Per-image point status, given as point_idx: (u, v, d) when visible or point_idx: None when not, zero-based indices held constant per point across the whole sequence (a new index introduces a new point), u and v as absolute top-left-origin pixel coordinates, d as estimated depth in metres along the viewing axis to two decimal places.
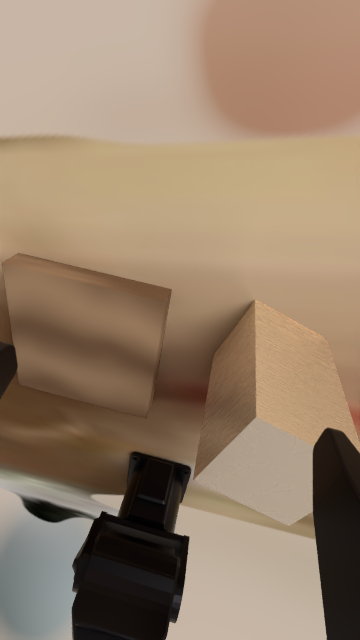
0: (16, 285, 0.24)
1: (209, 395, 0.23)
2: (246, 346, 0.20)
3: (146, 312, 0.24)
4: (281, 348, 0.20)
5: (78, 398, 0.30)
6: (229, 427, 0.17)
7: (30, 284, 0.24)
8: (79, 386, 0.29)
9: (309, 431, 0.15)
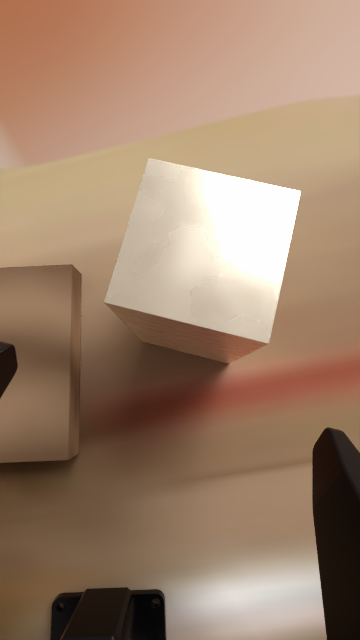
0: None
1: None
2: None
3: (52, 283, 0.22)
4: None
5: None
6: None
7: None
8: None
9: None
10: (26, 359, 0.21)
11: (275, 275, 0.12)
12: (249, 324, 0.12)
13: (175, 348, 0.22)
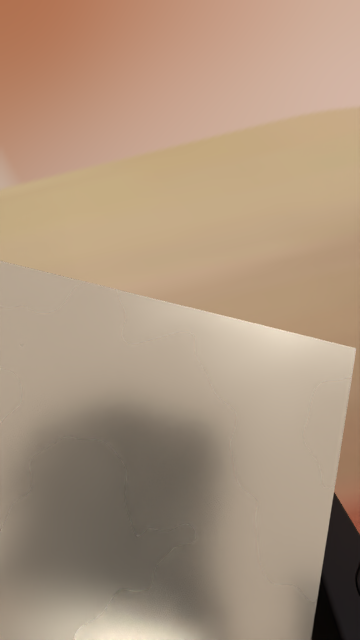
0: None
1: None
2: None
3: None
4: None
5: None
6: None
7: None
8: None
9: None
10: None
11: (297, 588, 0.05)
12: None
13: None
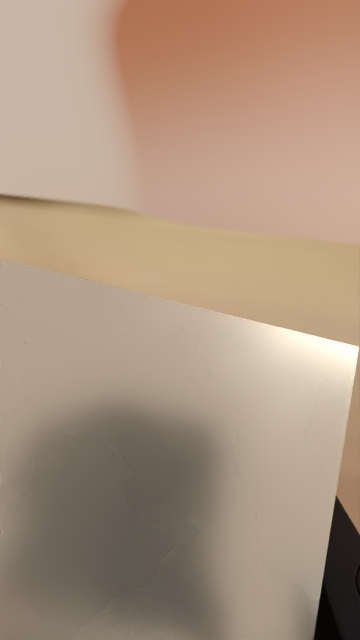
0: None
1: None
2: None
3: None
4: None
5: None
6: None
7: None
8: None
9: None
10: None
11: (300, 587, 0.05)
12: None
13: None
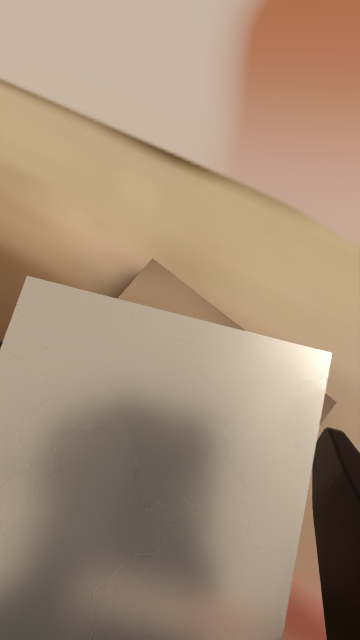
0: (147, 289, 0.18)
1: None
2: None
3: None
4: None
5: None
6: None
7: (167, 297, 0.18)
8: None
9: None
10: None
11: (279, 553, 0.06)
12: None
13: None
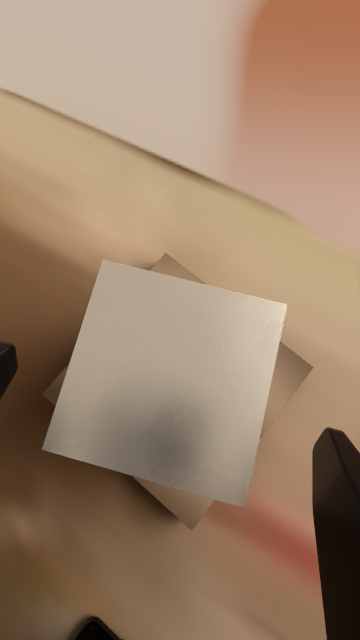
0: None
1: None
2: None
3: (285, 369, 0.21)
4: None
5: None
6: None
7: None
8: None
9: None
10: None
11: (254, 415, 0.10)
12: (221, 481, 0.09)
13: None
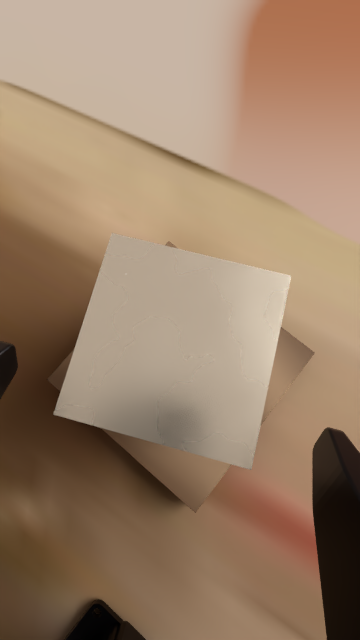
0: None
1: None
2: None
3: (287, 354, 0.21)
4: None
5: (116, 436, 0.20)
6: None
7: None
8: None
9: None
10: None
11: (260, 381, 0.10)
12: (228, 444, 0.10)
13: None
